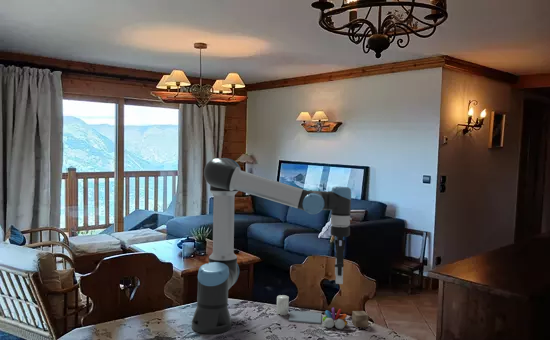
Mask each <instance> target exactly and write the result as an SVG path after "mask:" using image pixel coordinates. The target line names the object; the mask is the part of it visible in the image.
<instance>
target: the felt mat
mask: <svg viewBox="0 0 550 340" xmlns="http://www.w3.org/2000/svg"><path fill="white" fill-rule="evenodd" d="M322 315H323V314H322V312H311V311H310V312H309V311H299V310H290V313H289V316H288V322H291V321H293V322H294V323H303V324H304V323H305V324H314V325H316V324H317V325H321V324H322Z"/></svg>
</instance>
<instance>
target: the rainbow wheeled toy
mask: <svg viewBox="0 0 550 340" xmlns="http://www.w3.org/2000/svg"><path fill="white" fill-rule="evenodd" d="M324 312H325V316H323V317H322V322H323V323H324V327H326V328H328V329H332V328H333V327H335V328H336V329H337V330H343V329H344V328H345V326H347V325H348V321H347V319H346V318H347V316H348V315H347V314H346V313H342V314H341V312H342V309H341V308H339V309H337V312H336V309H335V307H331V311H330V310H325V311H324Z"/></svg>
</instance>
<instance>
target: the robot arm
mask: <svg viewBox="0 0 550 340" xmlns="http://www.w3.org/2000/svg"><path fill="white" fill-rule="evenodd" d="M203 176H204V179H205V181H206V183H207V184H209V189H210V190H209V191H210V193H212V195H213V208H212V209H213V214H212V215H213V216H212V217H213V219H212V220H213V221H212V252H211V254H210V255H209V256H208V263H204V264H202V265H200V266H199V268H198V273H197V294H196V295H197V297H196V308H195V310H194V311H195V312H194V315H193V317H192V319H191V328H192V329H191V330H193V331H194V332H197V333H201V334H205V335H207V334H208V335H215V334H222V333H225V332H228V331H230V329H232V318H231V314H230V311H229V307H228V306H229V304H228V303H229V300H228V299H229V290H230V289H231V288H232V286H234V285H235V284H236V283H237V281H238V278H239V277H240V276H239V275H240V267H239V264H238V255H236V254H235V252H234V250H235V249H234V248H235V247H234V244H235V243H234V241H235V238H234V237H235V197H236V196H235V195H236V194H237V193H238V192H242V193H246V194H250V195H251V196H256V197H259V198H263V199H266V200H269V201H272V202H275V203H279V204H282V205H285V206H288V207H292V208H295V209H298V210H302V211H304V212H305V213H307V214H309V215H317V214H319V213H321V212H322V211H330V212H331V214H330V224H331V226H330V236H332V237H336V239H334V248H335V263H334V275H335V285H343V283H344V266H345V265H344V257H345V256H344V252H345V247H346V240H345V239H344V238H345V237H346V238H347V237H349V236H351V227H350V225H351V221H352V219H353V218H352V217H351V210H352V209H351V208H352V206H351V205H352V190H351V188H350V187H349V186H332V188H331V190H329V191H326V190H325V191H324V190H312V189H311V190H307V189H303V188H301V187H298V186H297V187H296V186H293V185H291V184H286V183H283V182H280V181H277V180H274V179H270V178H268V177H263V176H260V175H257V174H253V173H250V172H247V171H245V170H242V169H241V166H240V165H239V164H238V162H236V161H235V160H233V159H231V158H227V157H223V158H222V157H219V158H218V157H215V158H213V159H211V160H209V161H208V162H207V163H206V164H205V166H204V169H203Z"/></svg>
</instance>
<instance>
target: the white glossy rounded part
mask: <svg viewBox="0 0 550 340" xmlns="http://www.w3.org/2000/svg"><path fill="white" fill-rule="evenodd" d="M289 299H290V297H289V296H288V295H285V294H282V295H281V294H279V295H277V296H276V313H277V314H276V315H278V314H280V315H279V316H282V315H284V316H288V315H289ZM287 314H288V315H287Z"/></svg>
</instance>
